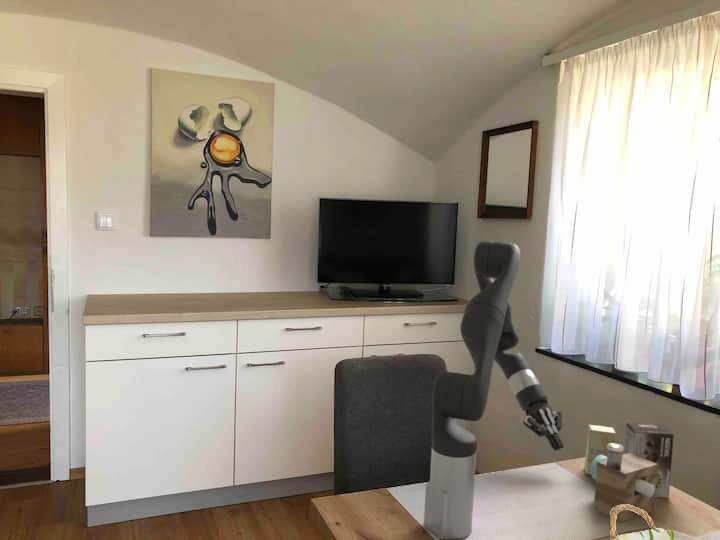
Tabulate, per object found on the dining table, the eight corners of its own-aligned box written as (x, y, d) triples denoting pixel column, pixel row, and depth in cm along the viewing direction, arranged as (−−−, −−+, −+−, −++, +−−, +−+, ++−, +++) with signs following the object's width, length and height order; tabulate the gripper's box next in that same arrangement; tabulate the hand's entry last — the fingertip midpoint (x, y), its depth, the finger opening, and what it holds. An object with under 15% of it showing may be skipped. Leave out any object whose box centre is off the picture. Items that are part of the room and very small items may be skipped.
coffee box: (658, 486, 147) (664, 424, 145) (669, 498, 140) (675, 434, 139) (621, 483, 147) (626, 421, 146) (630, 495, 141) (635, 431, 140)
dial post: (615, 471, 128) (617, 450, 128) (602, 465, 131) (603, 444, 131) (625, 468, 130) (627, 447, 130) (612, 462, 133) (613, 442, 133)
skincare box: (586, 474, 152) (589, 429, 151) (583, 468, 156) (587, 423, 155) (612, 478, 150) (616, 432, 149) (609, 471, 154) (613, 426, 153)
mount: (620, 521, 128) (624, 473, 127) (593, 507, 134) (597, 461, 133) (653, 509, 134) (658, 464, 133) (626, 496, 140) (630, 452, 139)
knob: (641, 506, 127) (643, 480, 127) (589, 481, 139) (591, 457, 138) (658, 501, 130) (660, 475, 130) (605, 476, 142) (607, 452, 141)
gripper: (517, 385, 154) (550, 447, 144) (552, 380, 160) (586, 438, 151) (501, 399, 159) (532, 459, 149) (536, 393, 165) (568, 451, 156)
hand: (559, 449), depth 150 cm, fingers closed
